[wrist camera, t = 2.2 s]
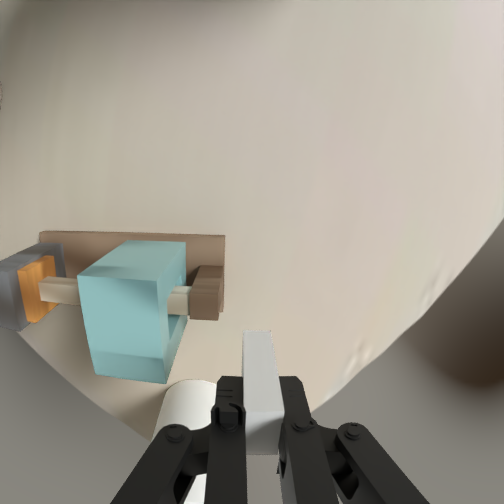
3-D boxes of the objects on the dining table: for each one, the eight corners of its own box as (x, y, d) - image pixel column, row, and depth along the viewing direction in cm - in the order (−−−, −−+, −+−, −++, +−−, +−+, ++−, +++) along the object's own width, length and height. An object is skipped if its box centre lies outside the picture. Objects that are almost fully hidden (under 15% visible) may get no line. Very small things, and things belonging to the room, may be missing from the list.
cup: (187, 367, 32) (158, 490, 16) (248, 402, 33) (253, 522, 18) (152, 406, 33) (118, 515, 18) (209, 437, 35) (198, 544, 19)
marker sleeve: (127, 240, 25) (76, 275, 16) (185, 242, 25) (156, 280, 16) (133, 316, 27) (95, 374, 18) (187, 320, 27) (166, 384, 18)
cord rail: (44, 230, 27) (-19, 257, 18) (225, 235, 28) (215, 271, 18) (52, 294, 29) (-1, 336, 20) (223, 307, 30) (215, 369, 20)
